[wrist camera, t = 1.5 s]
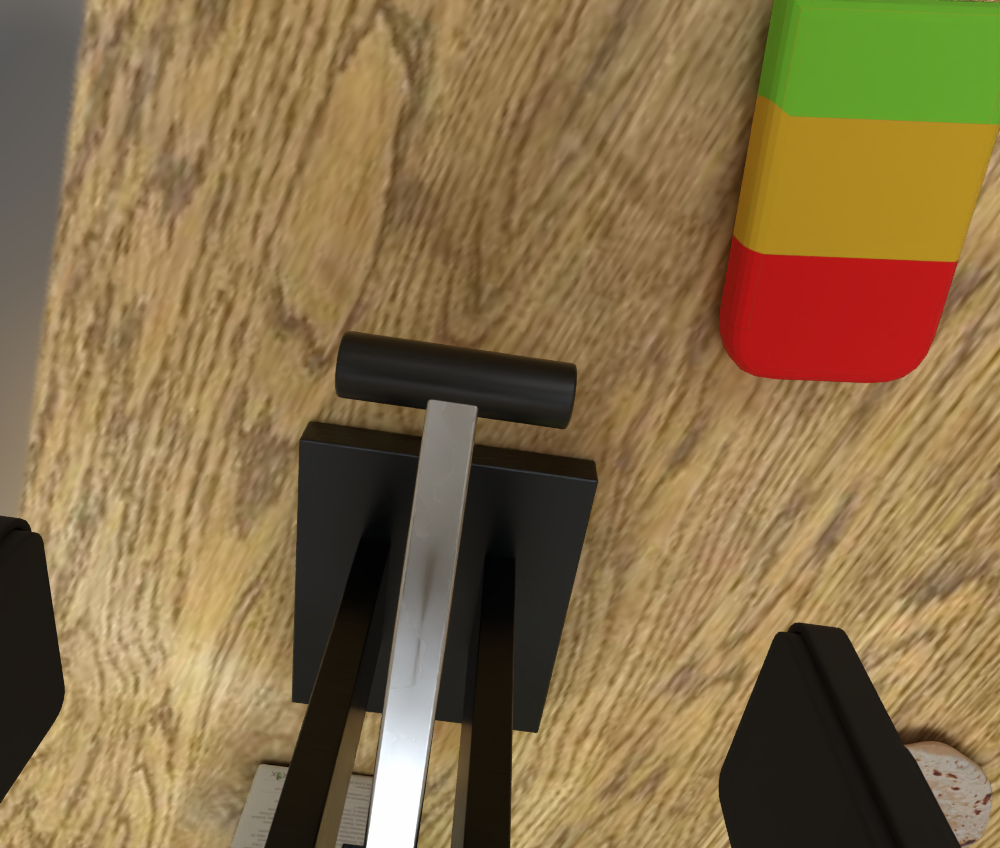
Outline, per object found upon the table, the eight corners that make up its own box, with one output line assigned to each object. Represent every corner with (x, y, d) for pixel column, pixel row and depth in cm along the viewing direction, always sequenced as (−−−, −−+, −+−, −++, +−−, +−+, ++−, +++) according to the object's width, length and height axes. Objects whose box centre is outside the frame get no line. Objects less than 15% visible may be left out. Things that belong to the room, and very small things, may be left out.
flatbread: (954, 867, 34) (966, 891, 33) (773, 861, 34) (780, 884, 33) (1015, 732, 30) (1030, 755, 29) (810, 725, 30) (819, 748, 29)
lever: (354, 338, 18) (337, 321, 16) (568, 369, 19) (583, 357, 16) (262, 960, 18) (230, 1040, 15) (483, 986, 18) (486, 1068, 16)
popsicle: (707, 356, 23) (721, 383, 22) (823, -326, 16) (857, -363, 15) (897, 364, 23) (925, 392, 22) (1096, -317, 16) (1161, -353, 14)
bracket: (308, 420, 25) (95, 831, 12) (595, 460, 25) (661, 897, 13) (299, 677, 30) (142, 1147, 18) (537, 708, 30) (545, 1188, 18)
